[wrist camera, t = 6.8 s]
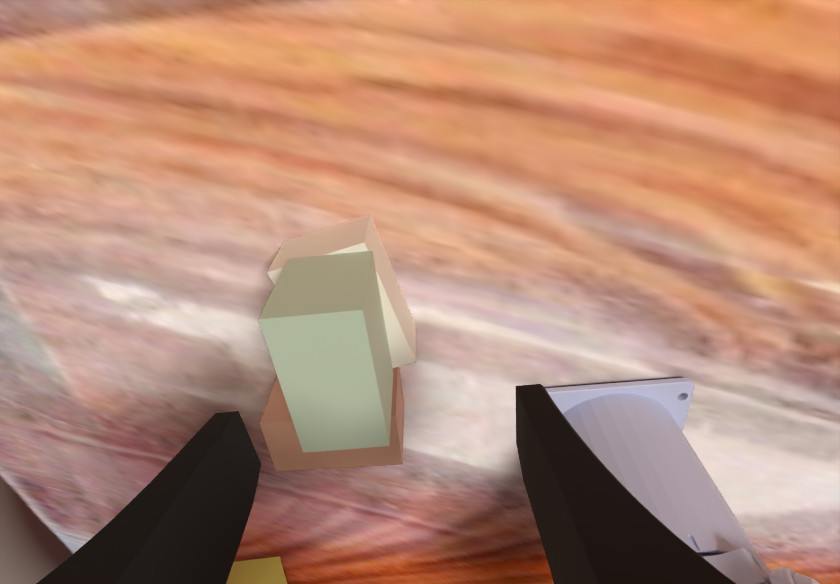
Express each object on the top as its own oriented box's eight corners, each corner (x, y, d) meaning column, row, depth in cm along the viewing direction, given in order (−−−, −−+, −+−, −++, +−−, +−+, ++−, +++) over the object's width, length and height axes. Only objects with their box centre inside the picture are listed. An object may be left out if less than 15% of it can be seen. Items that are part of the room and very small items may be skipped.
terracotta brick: (398, 356, 24) (395, 415, 21) (404, 402, 26) (402, 464, 22) (281, 364, 24) (259, 423, 21) (294, 409, 26) (276, 471, 22)
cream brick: (415, 322, 23) (415, 362, 20) (339, 343, 24) (330, 384, 21) (370, 211, 20) (364, 242, 17) (285, 239, 21) (266, 272, 18)
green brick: (393, 372, 21) (389, 445, 17) (321, 379, 21) (303, 452, 17) (372, 250, 18) (362, 309, 14) (288, 258, 18) (257, 319, 14)
